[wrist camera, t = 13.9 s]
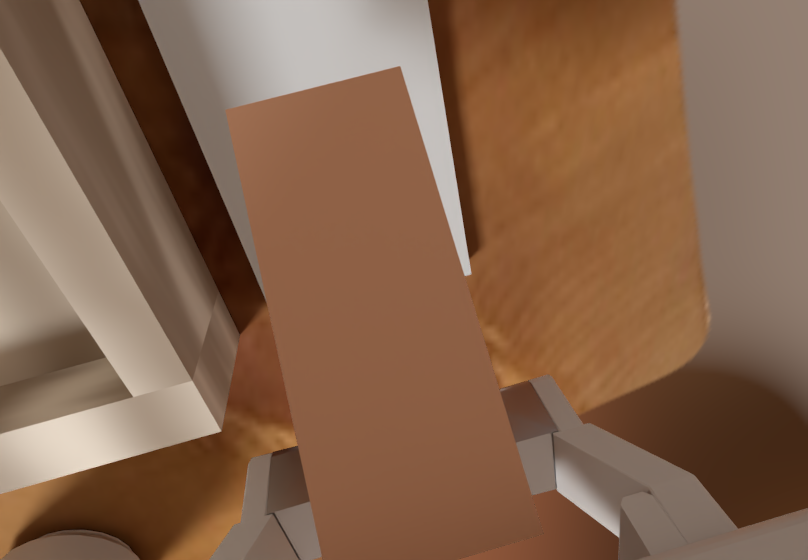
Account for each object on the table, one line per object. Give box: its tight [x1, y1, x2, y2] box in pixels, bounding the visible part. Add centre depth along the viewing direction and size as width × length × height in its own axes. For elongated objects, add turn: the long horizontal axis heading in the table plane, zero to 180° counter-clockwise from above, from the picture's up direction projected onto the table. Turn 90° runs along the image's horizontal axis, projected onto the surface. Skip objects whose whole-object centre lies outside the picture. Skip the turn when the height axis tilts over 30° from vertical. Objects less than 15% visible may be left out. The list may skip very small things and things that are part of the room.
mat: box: [138, 0, 471, 302], centre depth 19 cm, size 9×13×1 cm
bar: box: [225, 66, 543, 560], centre depth 11 cm, size 10×4×3 cm
